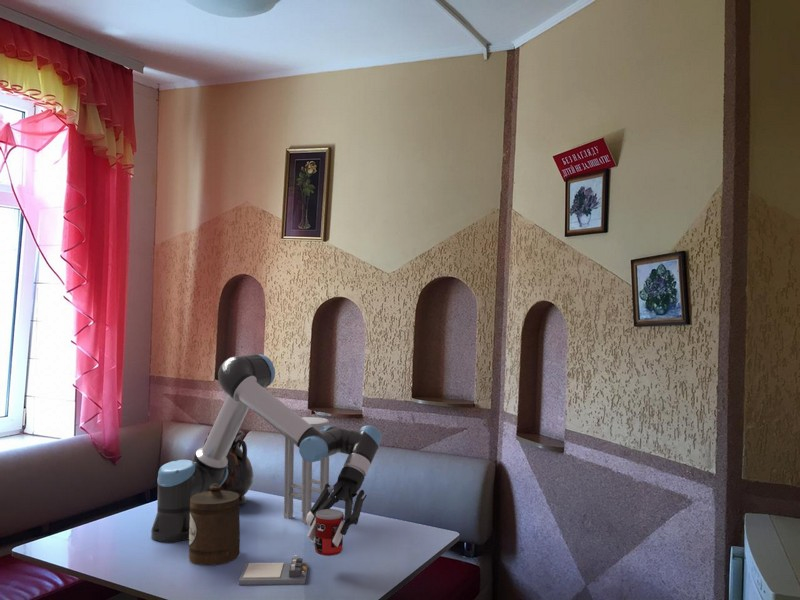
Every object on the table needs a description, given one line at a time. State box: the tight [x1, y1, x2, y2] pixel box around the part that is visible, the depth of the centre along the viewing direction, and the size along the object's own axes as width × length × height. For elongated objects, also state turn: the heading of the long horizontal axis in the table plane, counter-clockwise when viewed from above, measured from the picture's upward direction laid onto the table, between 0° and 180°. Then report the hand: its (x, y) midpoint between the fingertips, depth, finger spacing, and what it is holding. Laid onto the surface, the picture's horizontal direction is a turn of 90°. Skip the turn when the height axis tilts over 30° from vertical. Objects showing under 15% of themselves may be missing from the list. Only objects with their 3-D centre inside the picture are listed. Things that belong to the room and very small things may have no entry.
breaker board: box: [238, 554, 309, 586], centre depth 186 cm, size 18×12×4 cm, turn 94°
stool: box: [283, 416, 331, 525], centre depth 239 cm, size 16×16×35 cm
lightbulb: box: [306, 511, 315, 544], centre depth 212 cm, size 6×6×11 cm
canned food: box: [314, 508, 344, 557], centre depth 189 cm, size 8×8×11 cm
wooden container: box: [188, 483, 241, 566], centre depth 200 cm, size 15×15×22 cm
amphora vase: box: [203, 429, 254, 508], centre depth 252 cm, size 22×22×28 cm
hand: (322, 541), depth 186 cm, fingers closed on canned food, 8 cm apart
